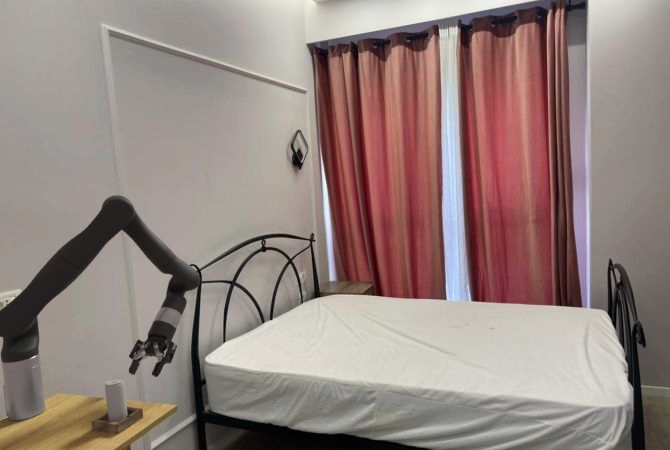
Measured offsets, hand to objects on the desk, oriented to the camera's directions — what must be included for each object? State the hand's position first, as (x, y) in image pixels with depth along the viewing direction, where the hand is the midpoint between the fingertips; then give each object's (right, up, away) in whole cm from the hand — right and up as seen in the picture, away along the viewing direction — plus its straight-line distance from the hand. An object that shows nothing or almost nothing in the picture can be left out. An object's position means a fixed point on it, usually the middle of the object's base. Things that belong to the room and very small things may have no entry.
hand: (142, 374), depth 137 cm
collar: (-3, -11, -9) cm, 14 cm away
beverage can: (-3, -11, -9) cm, 14 cm away
